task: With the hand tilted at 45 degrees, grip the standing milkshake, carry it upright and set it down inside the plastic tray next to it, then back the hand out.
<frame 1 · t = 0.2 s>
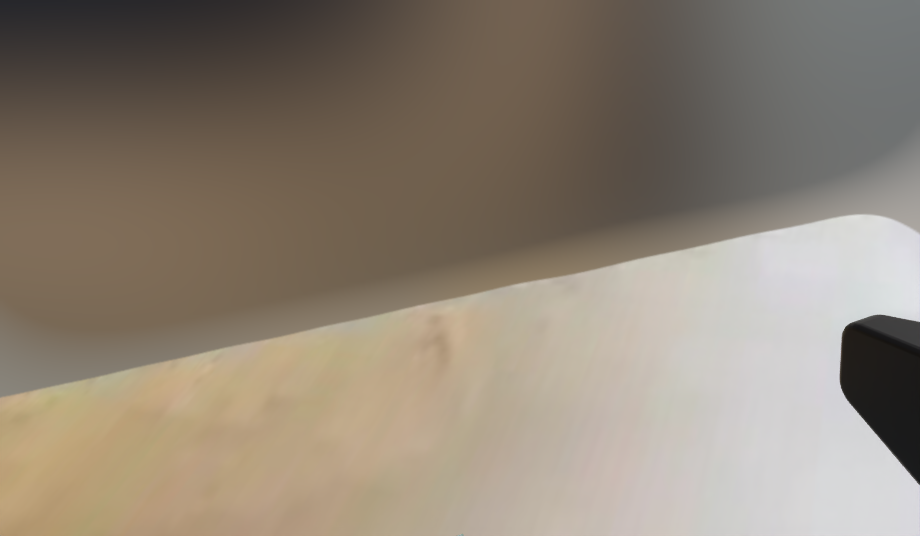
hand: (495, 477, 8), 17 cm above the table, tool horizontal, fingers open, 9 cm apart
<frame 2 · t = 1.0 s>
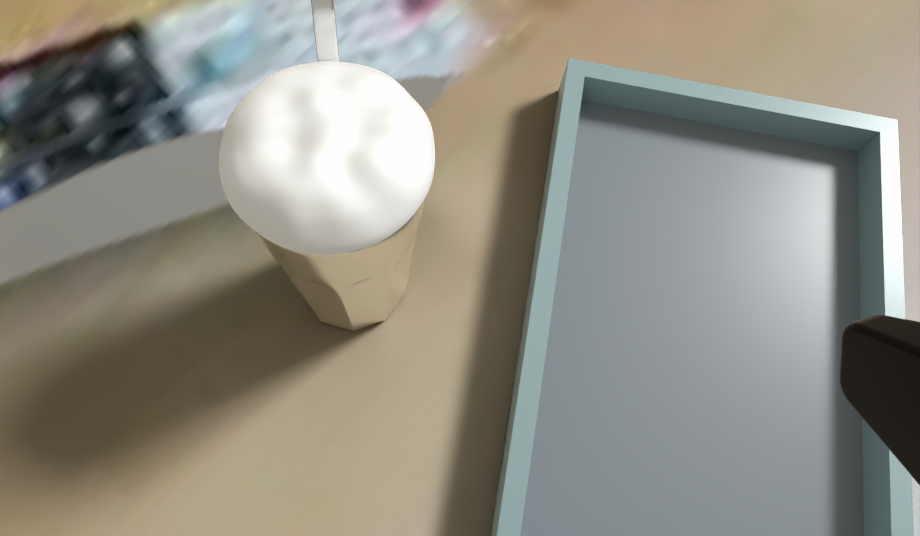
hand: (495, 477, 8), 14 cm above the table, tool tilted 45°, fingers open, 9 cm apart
tray: (698, 333, 24), on the table
milkshake: (354, 271, 24), on the table
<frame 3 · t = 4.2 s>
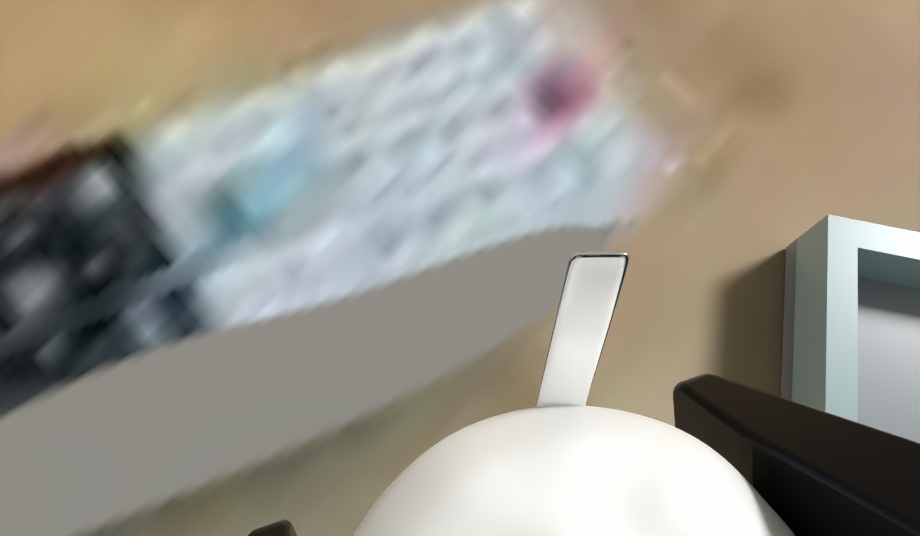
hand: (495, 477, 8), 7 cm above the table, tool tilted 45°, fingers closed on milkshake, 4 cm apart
when the fingers open (8 cm above the table, at t = 7.8 s): milkshake drops 1 cm, resting on tray.
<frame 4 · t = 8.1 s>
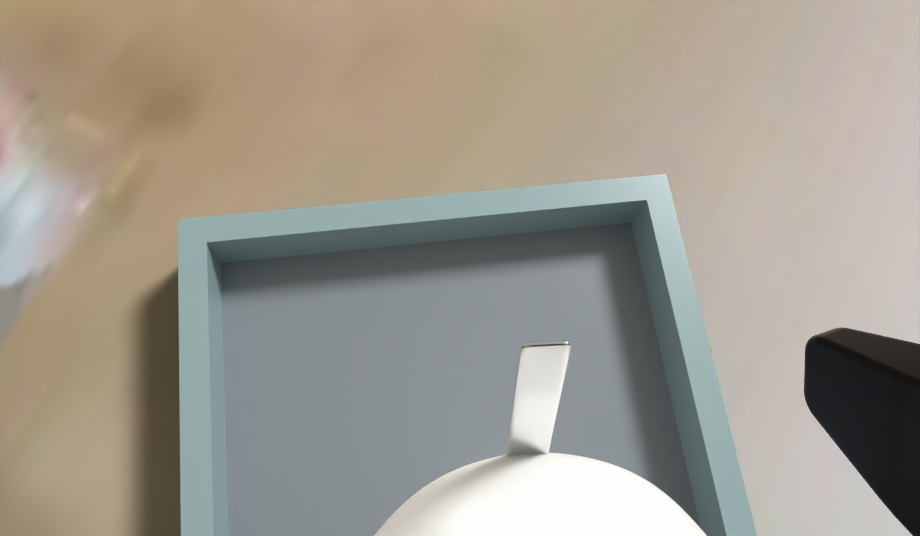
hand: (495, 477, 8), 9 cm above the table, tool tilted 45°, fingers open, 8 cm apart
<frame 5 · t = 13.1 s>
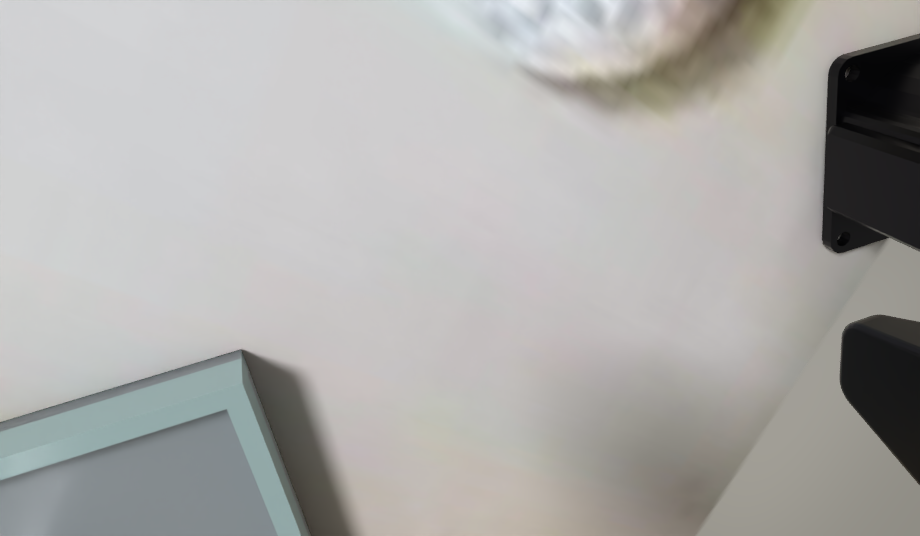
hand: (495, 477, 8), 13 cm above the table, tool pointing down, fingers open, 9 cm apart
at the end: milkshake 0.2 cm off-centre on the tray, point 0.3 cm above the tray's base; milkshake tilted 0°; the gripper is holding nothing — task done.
